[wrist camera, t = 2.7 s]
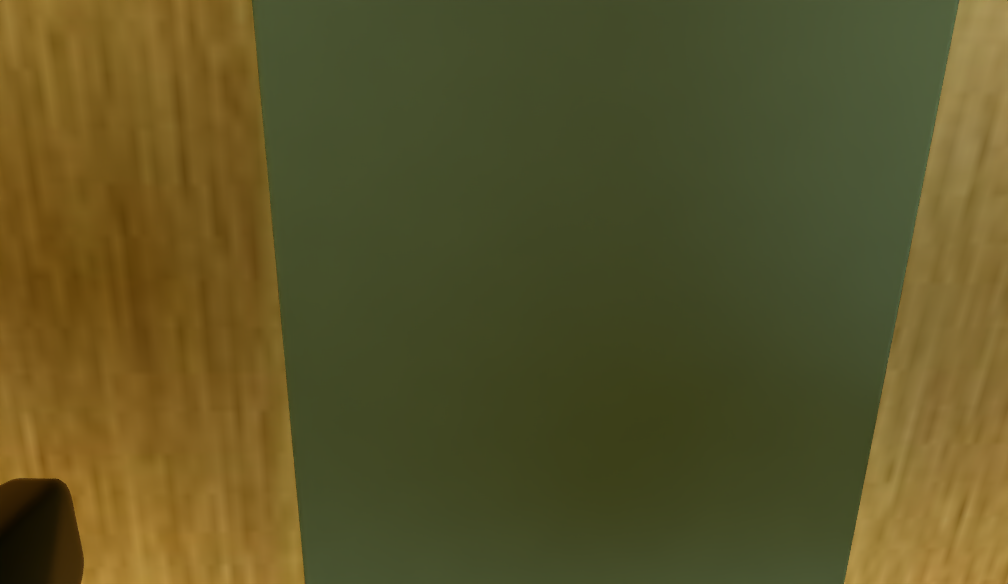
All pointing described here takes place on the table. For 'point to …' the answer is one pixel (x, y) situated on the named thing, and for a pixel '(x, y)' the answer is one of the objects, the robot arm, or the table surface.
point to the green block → (590, 278)
